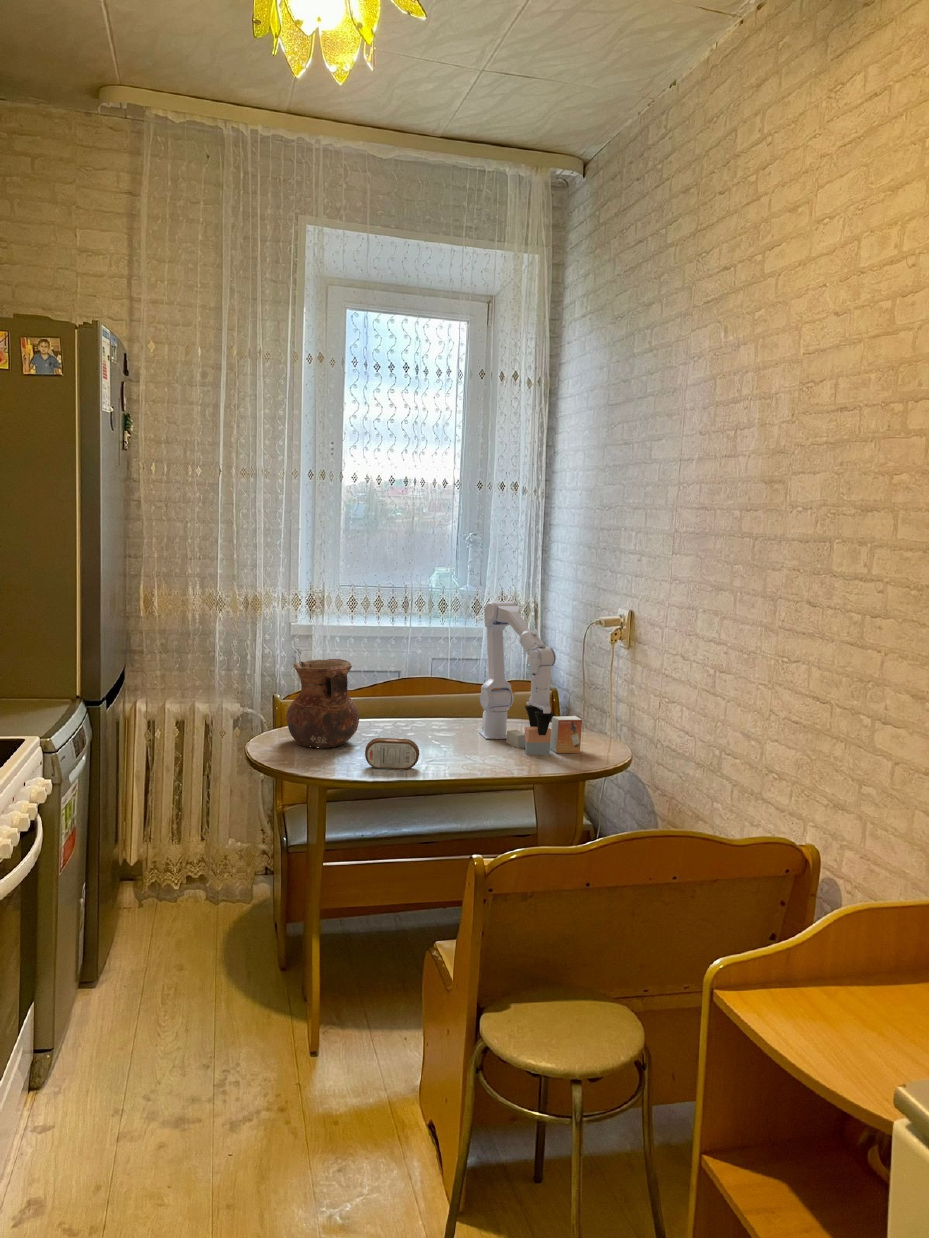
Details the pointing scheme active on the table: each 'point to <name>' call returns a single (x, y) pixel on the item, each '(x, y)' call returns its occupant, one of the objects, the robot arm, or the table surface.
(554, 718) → the small box
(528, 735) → the terracotta brick
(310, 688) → the jug
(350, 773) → the table surface
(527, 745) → the slate brick
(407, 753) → the tin
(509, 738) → the grey brick
